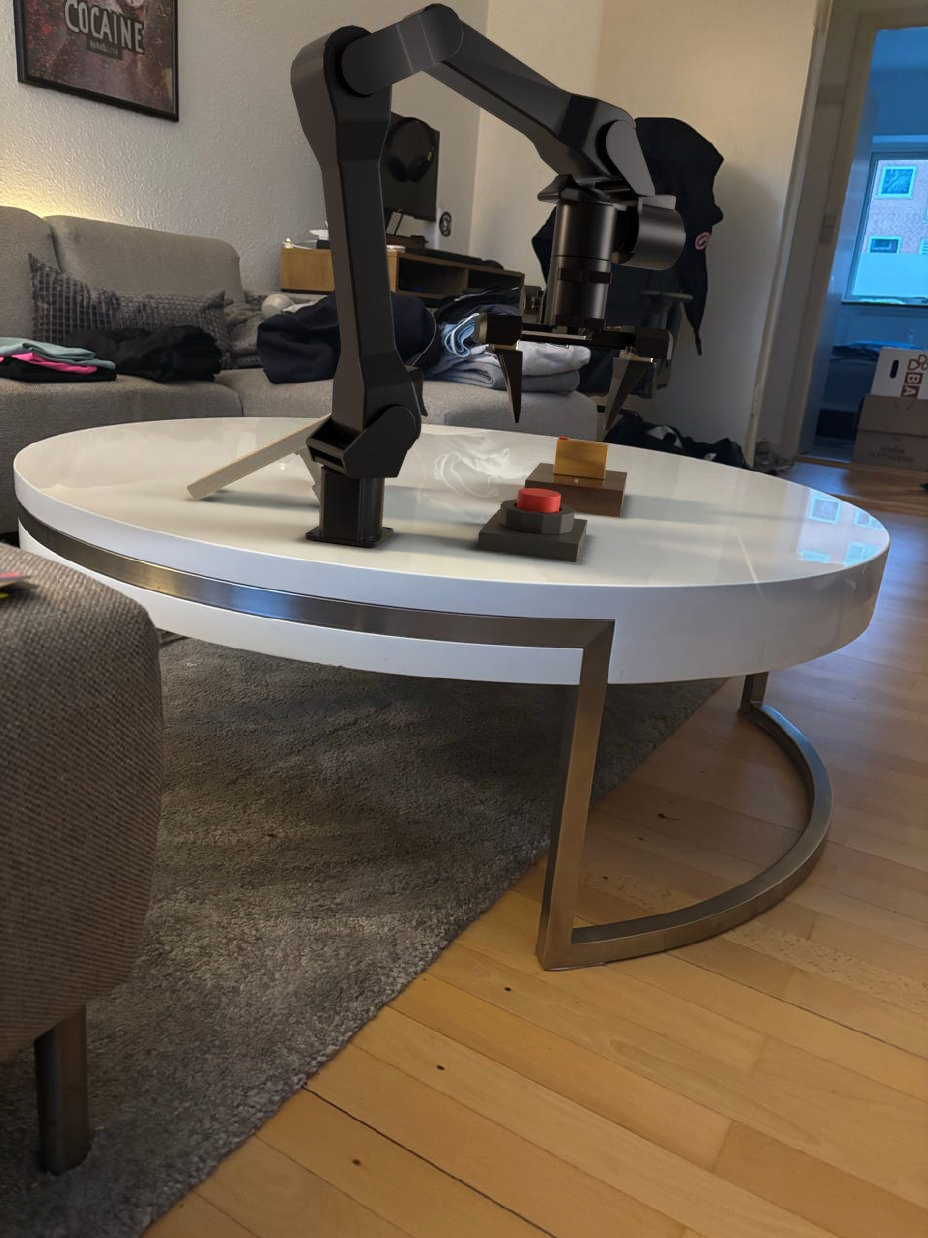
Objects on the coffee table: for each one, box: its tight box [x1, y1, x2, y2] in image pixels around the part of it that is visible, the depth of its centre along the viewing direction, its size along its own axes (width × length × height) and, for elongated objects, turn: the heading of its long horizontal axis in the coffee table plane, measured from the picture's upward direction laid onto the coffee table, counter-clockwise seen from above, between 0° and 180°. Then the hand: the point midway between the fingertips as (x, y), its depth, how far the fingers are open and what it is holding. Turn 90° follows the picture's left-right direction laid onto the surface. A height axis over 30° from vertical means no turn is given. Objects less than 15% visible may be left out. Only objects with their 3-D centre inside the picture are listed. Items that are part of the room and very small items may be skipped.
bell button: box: [516, 488, 561, 512], centre depth 86 cm, size 4×4×2 cm
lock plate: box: [523, 462, 628, 518], centre depth 109 cm, size 14×11×3 cm
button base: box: [476, 498, 588, 563], centre depth 87 cm, size 11×9×4 cm
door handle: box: [186, 411, 332, 503], centre depth 99 cm, size 18×8×20 cm
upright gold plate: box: [553, 435, 610, 479], centre depth 108 cm, size 6×2×4 cm, turn 78°
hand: (561, 426), depth 91 cm, fingers open, 9 cm apart
